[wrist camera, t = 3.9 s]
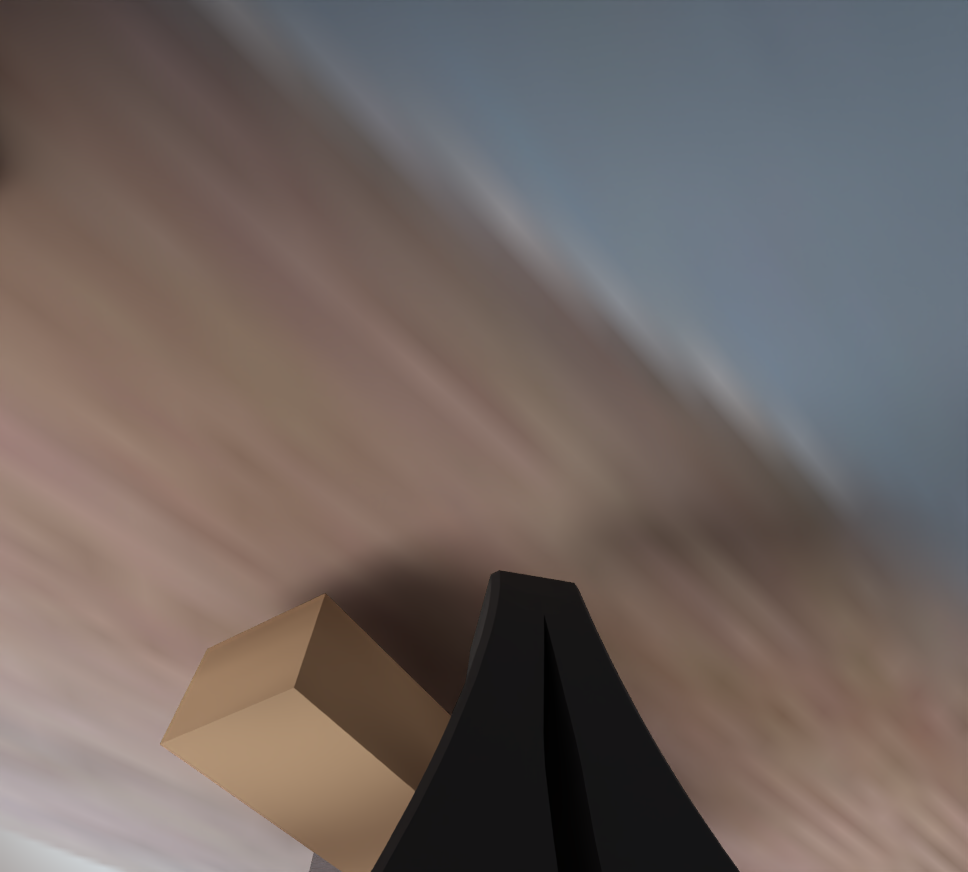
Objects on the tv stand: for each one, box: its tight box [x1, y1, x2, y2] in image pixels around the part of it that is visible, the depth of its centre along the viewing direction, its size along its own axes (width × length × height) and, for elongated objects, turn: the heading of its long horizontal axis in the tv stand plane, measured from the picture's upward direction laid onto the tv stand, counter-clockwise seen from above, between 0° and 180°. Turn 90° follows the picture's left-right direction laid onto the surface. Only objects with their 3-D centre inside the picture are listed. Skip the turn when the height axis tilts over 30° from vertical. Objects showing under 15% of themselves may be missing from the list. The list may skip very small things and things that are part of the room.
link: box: [160, 593, 451, 872], centre depth 13 cm, size 11×4×4 cm, turn 32°
